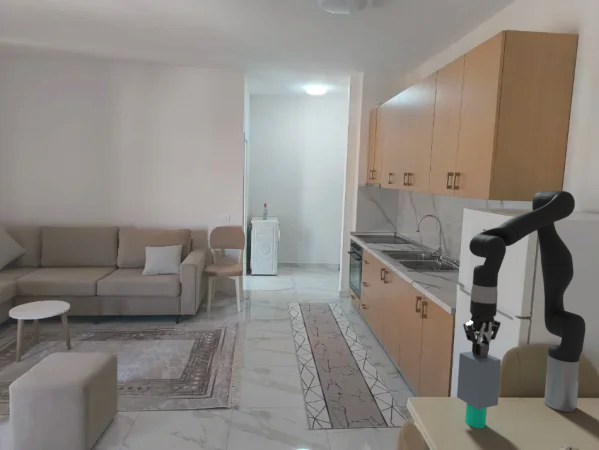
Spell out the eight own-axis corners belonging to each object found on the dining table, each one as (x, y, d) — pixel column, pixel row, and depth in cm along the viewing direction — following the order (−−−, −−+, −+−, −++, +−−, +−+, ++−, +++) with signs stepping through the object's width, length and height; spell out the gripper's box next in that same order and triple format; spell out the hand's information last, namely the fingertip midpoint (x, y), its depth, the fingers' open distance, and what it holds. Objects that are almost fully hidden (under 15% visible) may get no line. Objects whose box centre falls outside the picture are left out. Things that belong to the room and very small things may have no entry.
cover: (476, 393, 139) (480, 338, 137) (497, 405, 131) (501, 346, 130) (456, 397, 135) (460, 340, 134) (477, 409, 128) (481, 350, 126)
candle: (487, 429, 130) (490, 391, 129) (467, 426, 131) (469, 389, 130) (483, 419, 136) (485, 383, 135) (463, 416, 137) (466, 381, 136)
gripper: (490, 295, 137) (487, 347, 138) (457, 297, 132) (454, 352, 133) (510, 300, 130) (506, 355, 131) (476, 303, 125) (472, 361, 126)
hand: (480, 353), depth 132 cm, fingers closed on cover, 3 cm apart
